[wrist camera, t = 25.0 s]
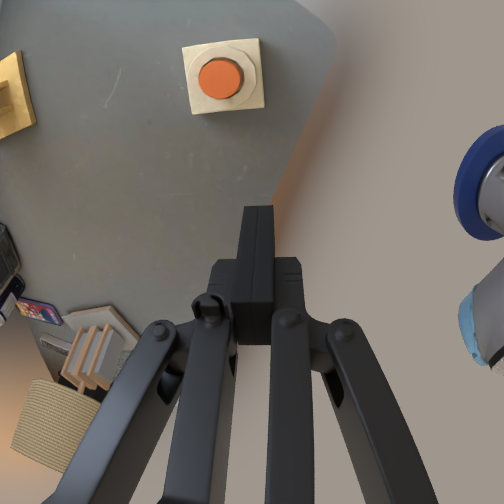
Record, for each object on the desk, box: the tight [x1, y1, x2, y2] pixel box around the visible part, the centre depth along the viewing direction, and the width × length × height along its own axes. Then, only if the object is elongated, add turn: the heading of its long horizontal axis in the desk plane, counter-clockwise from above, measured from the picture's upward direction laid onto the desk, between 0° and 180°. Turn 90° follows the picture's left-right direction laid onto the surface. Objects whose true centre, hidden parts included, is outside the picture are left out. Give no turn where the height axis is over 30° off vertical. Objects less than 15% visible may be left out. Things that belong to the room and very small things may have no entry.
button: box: [199, 60, 242, 99], centre depth 26 cm, size 4×4×2 cm
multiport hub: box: [40, 332, 72, 356], centre depth 69 cm, size 4×14×2 cm, turn 70°
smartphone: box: [15, 298, 63, 326], centre depth 60 cm, size 1×7×15 cm
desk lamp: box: [10, 306, 140, 474], centre depth 47 cm, size 20×20×35 cm
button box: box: [182, 38, 265, 115], centre depth 28 cm, size 8×8×4 cm
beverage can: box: [0, 274, 24, 326], centre depth 49 cm, size 6×6×12 cm
